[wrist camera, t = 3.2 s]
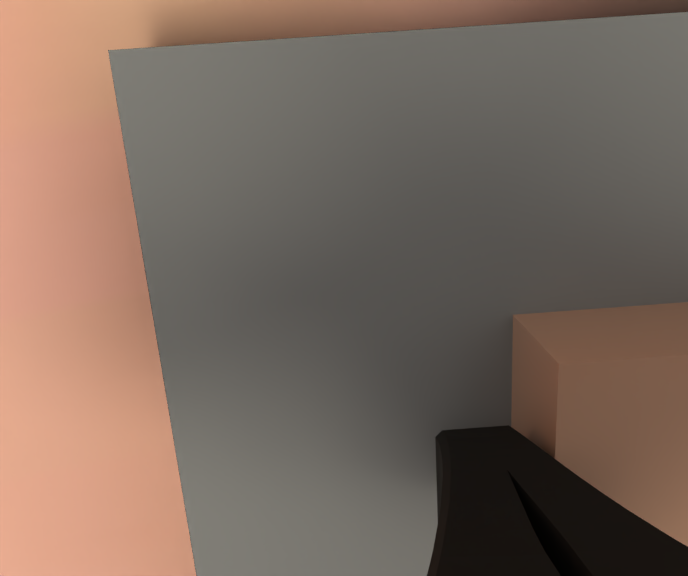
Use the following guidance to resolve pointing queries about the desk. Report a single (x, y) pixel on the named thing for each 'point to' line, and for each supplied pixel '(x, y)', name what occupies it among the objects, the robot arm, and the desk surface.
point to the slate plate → (384, 256)
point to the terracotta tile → (610, 402)
